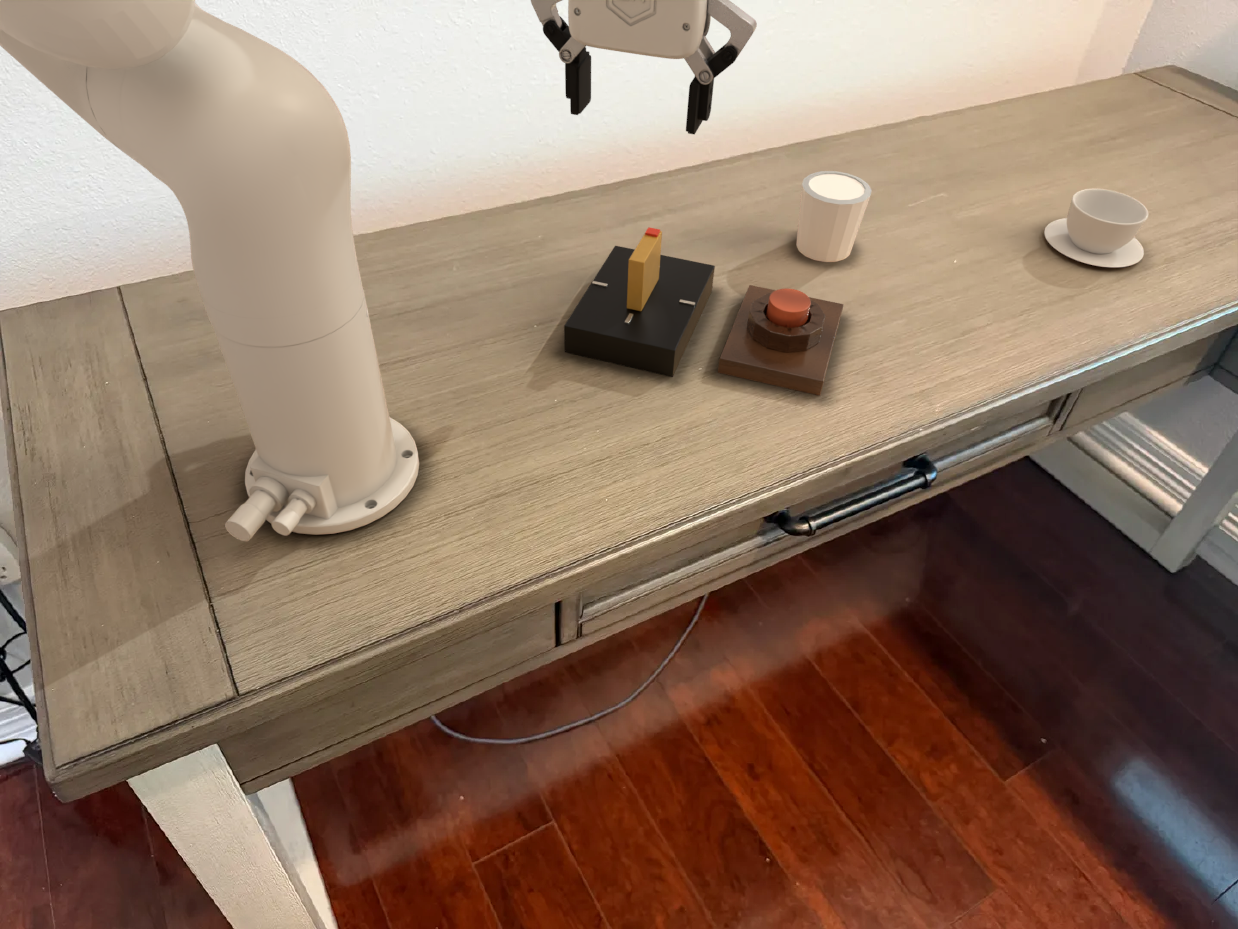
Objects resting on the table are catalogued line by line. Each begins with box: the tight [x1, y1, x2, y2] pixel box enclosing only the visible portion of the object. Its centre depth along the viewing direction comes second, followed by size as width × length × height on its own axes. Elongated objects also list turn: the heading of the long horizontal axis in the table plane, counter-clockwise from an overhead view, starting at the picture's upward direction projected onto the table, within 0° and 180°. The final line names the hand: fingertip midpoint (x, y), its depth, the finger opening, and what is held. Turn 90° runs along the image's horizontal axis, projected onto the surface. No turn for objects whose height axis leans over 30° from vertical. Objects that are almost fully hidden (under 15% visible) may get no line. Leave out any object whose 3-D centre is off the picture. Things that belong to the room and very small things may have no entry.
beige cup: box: [795, 170, 872, 263], centre depth 90 cm, size 7×7×7 cm
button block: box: [717, 284, 844, 396], centre depth 80 cm, size 12×9×4 cm
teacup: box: [1043, 188, 1149, 268], centre depth 93 cm, size 10×10×5 cm
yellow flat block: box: [627, 226, 663, 311], centre depth 79 cm, size 6×1×5 cm, turn 162°
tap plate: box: [563, 245, 716, 378], centre depth 82 cm, size 14×10×3 cm
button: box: [767, 287, 811, 328], centre depth 78 cm, size 4×4×2 cm
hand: (637, 117), depth 72 cm, fingers open, 9 cm apart
